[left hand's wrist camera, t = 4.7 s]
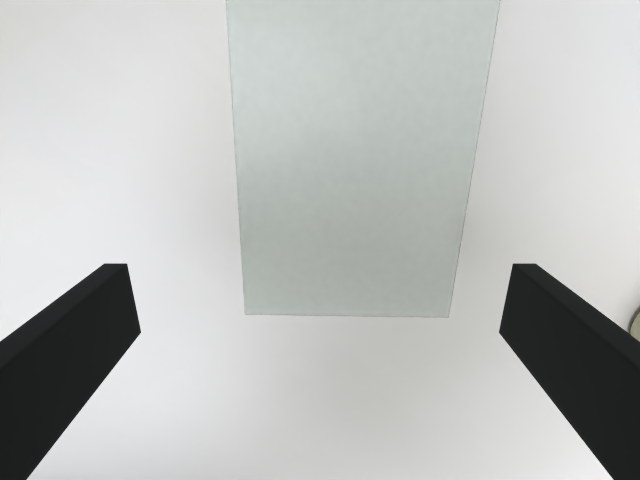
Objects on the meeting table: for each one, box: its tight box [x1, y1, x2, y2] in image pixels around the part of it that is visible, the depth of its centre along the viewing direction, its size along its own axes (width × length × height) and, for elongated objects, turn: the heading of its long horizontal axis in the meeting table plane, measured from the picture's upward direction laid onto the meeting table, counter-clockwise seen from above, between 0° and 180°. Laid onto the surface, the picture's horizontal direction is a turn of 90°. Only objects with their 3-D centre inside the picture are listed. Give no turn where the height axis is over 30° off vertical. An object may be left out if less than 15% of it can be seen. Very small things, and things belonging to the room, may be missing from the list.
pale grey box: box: [226, 0, 500, 317], centre depth 20 cm, size 20×11×8 cm, turn 179°
